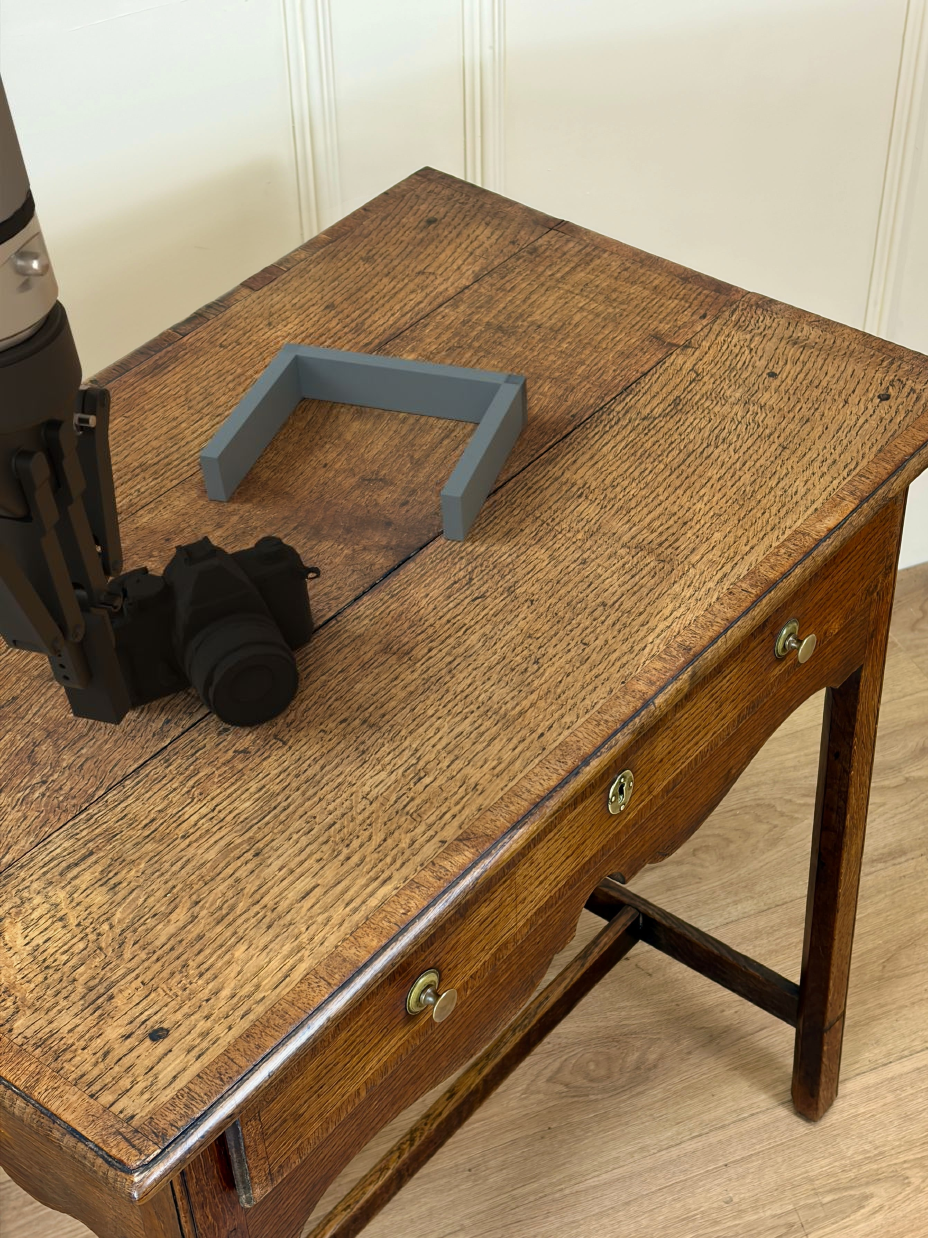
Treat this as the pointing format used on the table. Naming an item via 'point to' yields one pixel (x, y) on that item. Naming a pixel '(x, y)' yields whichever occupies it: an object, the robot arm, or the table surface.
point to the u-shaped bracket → (383, 387)
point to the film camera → (216, 628)
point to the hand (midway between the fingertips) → (102, 711)
